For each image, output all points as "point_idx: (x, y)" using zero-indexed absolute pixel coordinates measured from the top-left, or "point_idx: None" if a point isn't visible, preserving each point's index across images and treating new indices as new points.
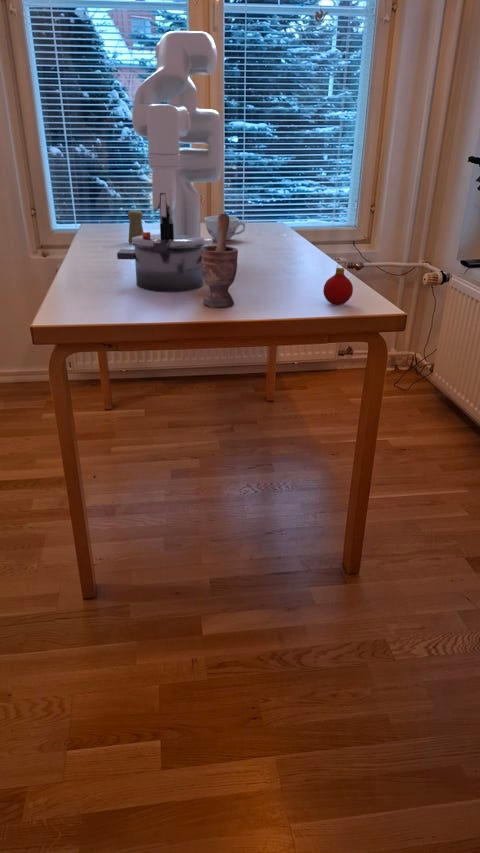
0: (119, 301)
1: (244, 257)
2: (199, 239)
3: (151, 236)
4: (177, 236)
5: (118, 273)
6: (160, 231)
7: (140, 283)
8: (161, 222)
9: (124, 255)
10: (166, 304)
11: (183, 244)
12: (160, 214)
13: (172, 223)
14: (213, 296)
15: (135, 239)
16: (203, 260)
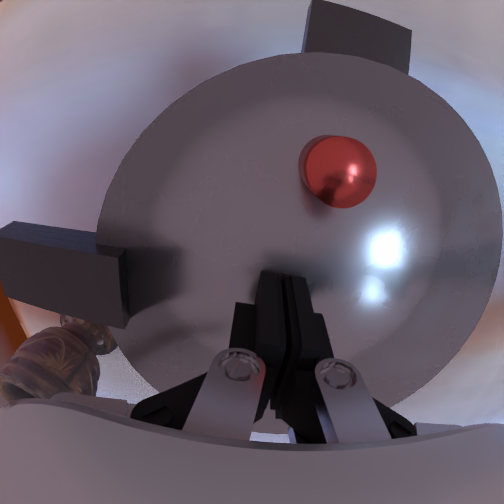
0: (87, 77)
1: (484, 383)
2: (283, 422)
3: (448, 208)
4: (412, 346)
5: (448, 65)
6: (259, 301)
7: None
8: (211, 366)
9: (306, 33)
10: (66, 208)
11: (135, 364)
12: (185, 430)
13: (278, 416)
14: (62, 322)
15: (293, 76)
16: (12, 357)
